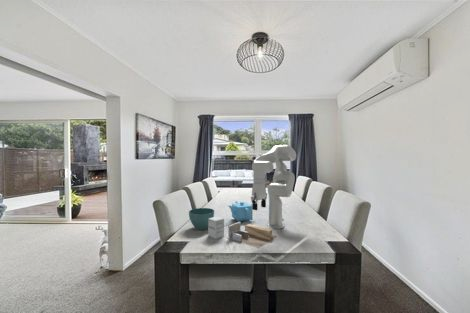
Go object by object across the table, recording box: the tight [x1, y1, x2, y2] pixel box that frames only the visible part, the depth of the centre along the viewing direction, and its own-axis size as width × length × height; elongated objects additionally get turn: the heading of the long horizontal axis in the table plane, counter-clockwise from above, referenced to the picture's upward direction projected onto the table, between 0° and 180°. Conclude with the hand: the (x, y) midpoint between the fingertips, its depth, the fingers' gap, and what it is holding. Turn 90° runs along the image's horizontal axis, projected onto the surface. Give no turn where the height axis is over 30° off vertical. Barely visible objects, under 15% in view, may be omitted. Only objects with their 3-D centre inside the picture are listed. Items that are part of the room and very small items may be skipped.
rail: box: [244, 223, 273, 240], centre depth 142 cm, size 4×18×5 cm, turn 51°
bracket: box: [227, 221, 249, 243], centre depth 138 cm, size 11×8×8 cm
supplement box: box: [207, 216, 225, 240], centre depth 142 cm, size 7×7×13 cm
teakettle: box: [228, 200, 254, 224], centre depth 180 cm, size 19×19×15 cm
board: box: [226, 229, 278, 249], centre depth 139 cm, size 22×23×2 cm
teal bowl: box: [188, 207, 215, 231], centre depth 162 cm, size 18×18×12 cm
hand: (259, 208), depth 141 cm, fingers open, 9 cm apart
